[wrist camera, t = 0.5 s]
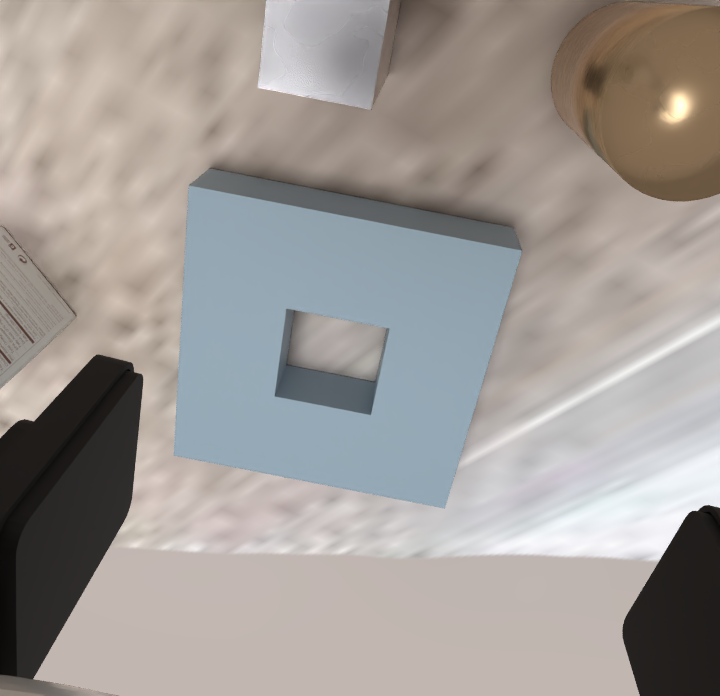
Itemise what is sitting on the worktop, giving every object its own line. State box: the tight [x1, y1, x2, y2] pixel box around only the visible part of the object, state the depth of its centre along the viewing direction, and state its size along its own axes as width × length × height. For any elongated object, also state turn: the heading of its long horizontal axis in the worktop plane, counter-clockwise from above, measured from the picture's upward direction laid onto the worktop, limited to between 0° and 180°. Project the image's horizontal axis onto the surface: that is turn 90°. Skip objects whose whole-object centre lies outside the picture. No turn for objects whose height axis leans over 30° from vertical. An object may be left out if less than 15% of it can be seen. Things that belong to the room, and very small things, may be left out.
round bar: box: [551, 2, 720, 201], centre depth 31 cm, size 7×7×12 cm
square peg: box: [258, 0, 401, 110], centre depth 31 cm, size 4×4×12 cm
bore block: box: [174, 168, 522, 508], centre depth 42 cm, size 18×18×4 cm
